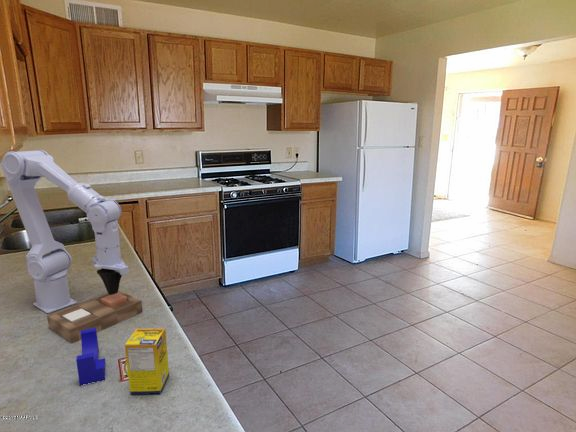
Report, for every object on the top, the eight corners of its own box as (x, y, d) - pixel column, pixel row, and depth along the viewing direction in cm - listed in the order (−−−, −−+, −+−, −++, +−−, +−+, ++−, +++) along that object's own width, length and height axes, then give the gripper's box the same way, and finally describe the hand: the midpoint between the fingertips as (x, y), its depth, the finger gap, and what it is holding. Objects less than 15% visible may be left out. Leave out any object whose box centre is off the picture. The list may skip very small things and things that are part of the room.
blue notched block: (105, 380, 76) (101, 354, 74) (79, 386, 74) (76, 360, 73) (106, 349, 86) (103, 326, 85) (84, 354, 84) (81, 330, 83)
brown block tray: (48, 327, 95) (46, 315, 94) (118, 300, 110) (117, 289, 110) (71, 343, 88) (69, 329, 88) (142, 312, 104) (141, 300, 103)
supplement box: (169, 374, 77) (165, 327, 75) (161, 394, 72) (156, 344, 69) (140, 375, 77) (136, 327, 75) (129, 395, 71) (124, 344, 69)
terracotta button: (102, 310, 103) (100, 298, 102) (118, 303, 106) (117, 292, 106) (111, 315, 100) (110, 303, 99) (128, 308, 104) (126, 296, 103)
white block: (64, 328, 95) (62, 315, 94) (83, 320, 99) (81, 308, 98) (73, 334, 92) (71, 321, 91) (92, 326, 96) (91, 313, 95)
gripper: (79, 244, 100) (84, 291, 103) (108, 255, 92) (113, 306, 95) (104, 238, 106) (109, 283, 109) (134, 248, 97) (138, 296, 100)
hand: (113, 293), depth 102 cm, fingers closed
